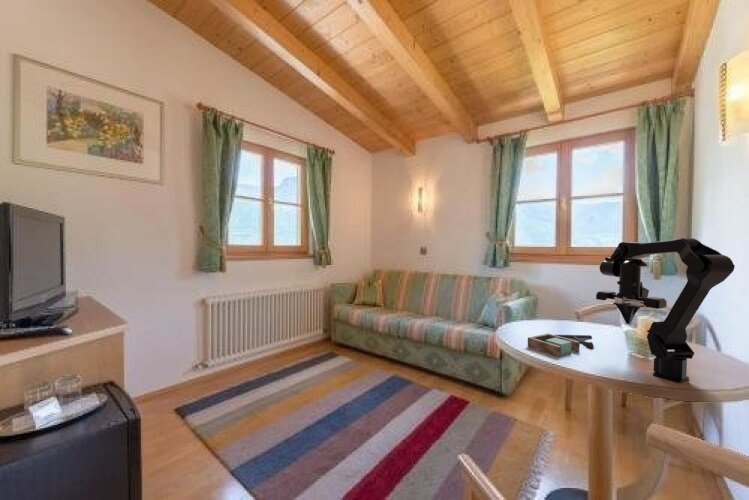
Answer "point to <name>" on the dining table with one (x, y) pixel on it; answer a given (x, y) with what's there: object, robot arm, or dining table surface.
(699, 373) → the dining table surface
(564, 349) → the pale green block
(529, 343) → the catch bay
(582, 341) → the bracket
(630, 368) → the dining table surface
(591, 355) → the dining table surface
